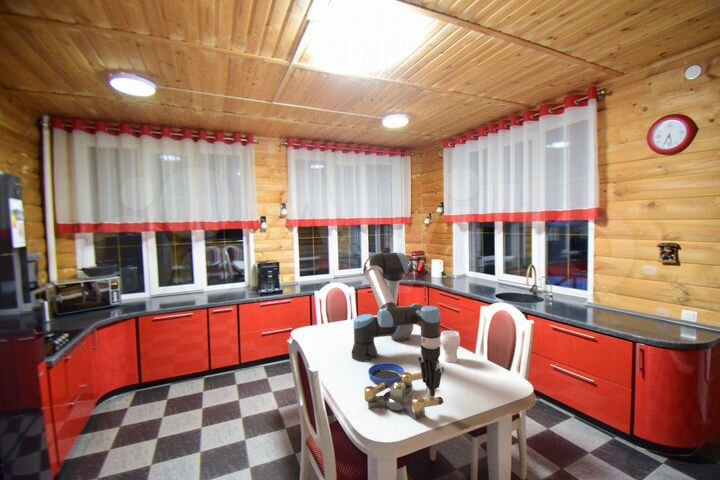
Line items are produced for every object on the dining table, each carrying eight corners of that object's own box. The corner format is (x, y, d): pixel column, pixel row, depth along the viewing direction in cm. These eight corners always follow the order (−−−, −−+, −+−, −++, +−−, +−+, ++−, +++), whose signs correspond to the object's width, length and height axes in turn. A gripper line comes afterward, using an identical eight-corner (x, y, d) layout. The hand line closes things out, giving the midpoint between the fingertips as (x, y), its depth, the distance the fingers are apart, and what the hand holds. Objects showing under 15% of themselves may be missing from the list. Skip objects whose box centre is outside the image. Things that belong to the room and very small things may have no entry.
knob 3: (370, 403, 130) (369, 393, 130) (362, 399, 134) (362, 389, 134) (391, 391, 139) (391, 382, 139) (383, 387, 143) (383, 378, 142)
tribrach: (363, 407, 132) (362, 387, 132) (382, 383, 152) (381, 365, 151) (422, 422, 122) (421, 400, 121) (434, 394, 141) (434, 375, 141)
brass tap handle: (404, 387, 142) (404, 378, 142) (399, 382, 147) (399, 373, 147) (429, 382, 147) (429, 372, 146) (424, 377, 151) (423, 368, 151)
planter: (419, 335, 215) (418, 308, 214) (407, 345, 198) (406, 315, 197) (393, 331, 225) (392, 304, 224) (379, 340, 209) (379, 311, 208)
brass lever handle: (415, 414, 122) (414, 403, 122) (410, 408, 126) (410, 397, 126) (445, 409, 125) (445, 398, 125) (440, 402, 129) (440, 392, 129)
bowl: (394, 390, 146) (394, 382, 146) (361, 380, 156) (361, 373, 155) (410, 374, 161) (410, 367, 161) (379, 366, 171) (379, 360, 171)
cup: (461, 364, 170) (461, 337, 169) (441, 363, 172) (440, 336, 171) (459, 356, 180) (459, 330, 179) (440, 355, 182) (439, 329, 181)
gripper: (413, 342, 130) (413, 397, 132) (433, 353, 119) (434, 413, 120) (427, 338, 134) (427, 392, 135) (448, 349, 122) (449, 407, 124)
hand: (430, 402), depth 128 cm, fingers closed
